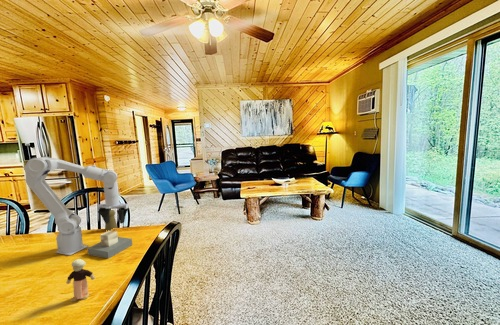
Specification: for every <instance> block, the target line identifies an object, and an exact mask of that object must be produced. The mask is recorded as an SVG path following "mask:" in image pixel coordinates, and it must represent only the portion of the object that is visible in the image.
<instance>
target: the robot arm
mask: <svg viewBox="0 0 500 325" xmlns="http://www.w3.org/2000/svg"><path fill="white" fill-rule="evenodd" d="M23 169H24V171H25V183H26V185H27V186H28V187H29V188H30V189H31V191H32V192H33V193H34V194H35V195H36V197H37V198H38V199H39V200H40V202H42V203H41V204H43V206H44V207H45V208H46V209H47V210H48V211H49V212H50V213H51V215H52V216H53V217H54V223H55V224H56V226H57V231H58V232H59V233H58V234H57V235H56V239H55V240H56V246H57V247H56V248H57V250H56V251H55V254H61V255H65V256H72V255H73V254H76V253H78V252H80V251H82V250H84V249H87V248H89V245H86V244H84V242H83V234H82V227H80V224H81V223H82V217H81V216H80V215H78V214H76V213H74V211H73V210H71V209H69V208H67V206H66V204H64V202H63V201H62V200H61V198H60V197H58V195H57V194H56V192H55V191H54V190H53V189H52V188H51V186H50V185H49V184H48V183H47V182H46V178H47V176H48V175H49V174H48V173H50V172H51V171H53V170H64V171H69V172H73V173H77V174H80V175H82V176H83V177H84V178H86V179H90V180H94V181H98V182H102V183H103V191H104V201H105V203H102V204H101V203H100V204H97V205H96V206H97V212H98V214H99V215H100V216H101V217H102V219H103V220H102V221H103V222H104V225H105V224H107V223H109V222H110V218H109V212H110V210H114V209H115V210H116V209H118V210H116V212H117V215H118V218H119V223H120V224H123V223H125V219H126V214H127V212H128V210H129V208H130V206H129V203H124V202H120V193H119V192H120V191H119V184H118V174H117V172H116V171H114V170H111V169H108V168H105V169H104V168H101V167H97V165H95V164H92V165H87V166H83V165H80V164H76V163H73V162H69V161H66V160H63V159H60V158H55V157H50V156H41V157H32V158H30V159H29V160H28V161H27V162H26V163H25V165H24V167H23Z"/></svg>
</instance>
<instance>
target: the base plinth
mask: <svg viewBox="0 0 500 325" xmlns="http://www.w3.org/2000/svg"><path fill="white" fill-rule="evenodd" d="M131 246H133V239H132V238H129V237H128V238H127V237H124V236H123V237H122V236H118V242H117V243H115V244H113V245H111V246H109V247H108V246H102V245H101V241H99V242H98V243H95V244H93V245H91V246H88V247H87V255H89V256H93V257H99V258H104V259H111V258H112V257H114V256H116V255H117V254H119V253H121V252H122V251H124V250H126V249H128V248H130V247H131Z"/></svg>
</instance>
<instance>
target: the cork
mask: <svg viewBox="0 0 500 325" xmlns="http://www.w3.org/2000/svg"><path fill="white" fill-rule="evenodd" d="M115 215H116V211H115V210H114V209H110V212H109V218H110V222H109V223H107V224H105V223H104V225H105V227H104V231H105V230H107V231H108V230H109V231H111V229H113V228H119V227H118V224H117V221H116V216H115Z"/></svg>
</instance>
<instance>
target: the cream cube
mask: <svg viewBox="0 0 500 325" xmlns="http://www.w3.org/2000/svg"><path fill="white" fill-rule="evenodd" d="M99 237H100V242H101V245H102V246H108V247H109V246H111V245H113V244H115V243H117V242H118V237H119V236H118V231H117V230H114V231H107V232H106V231H104V233H101V234H100V235H99Z"/></svg>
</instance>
